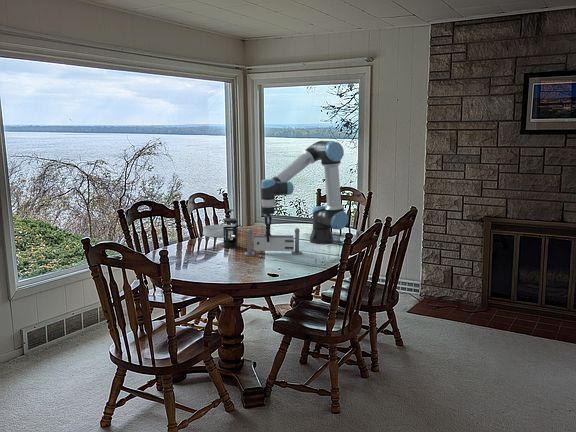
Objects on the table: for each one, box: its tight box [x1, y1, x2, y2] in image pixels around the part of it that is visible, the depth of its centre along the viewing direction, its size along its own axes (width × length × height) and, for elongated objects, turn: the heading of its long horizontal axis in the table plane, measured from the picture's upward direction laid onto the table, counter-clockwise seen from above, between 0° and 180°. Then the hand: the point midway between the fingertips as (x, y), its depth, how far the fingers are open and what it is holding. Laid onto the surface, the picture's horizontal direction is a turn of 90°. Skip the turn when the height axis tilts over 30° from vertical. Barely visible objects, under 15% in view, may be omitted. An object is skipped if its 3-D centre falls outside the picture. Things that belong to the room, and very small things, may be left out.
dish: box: [202, 224, 233, 238], centre depth 367 cm, size 22×22×5 cm
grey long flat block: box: [253, 234, 295, 252], centre depth 310 cm, size 23×3×9 cm, turn 87°
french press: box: [222, 209, 239, 249], centre depth 327 cm, size 12×9×23 cm
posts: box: [243, 227, 304, 257], centre depth 308 cm, size 34×6×15 cm, turn 96°
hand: (267, 247), depth 307 cm, fingers closed
